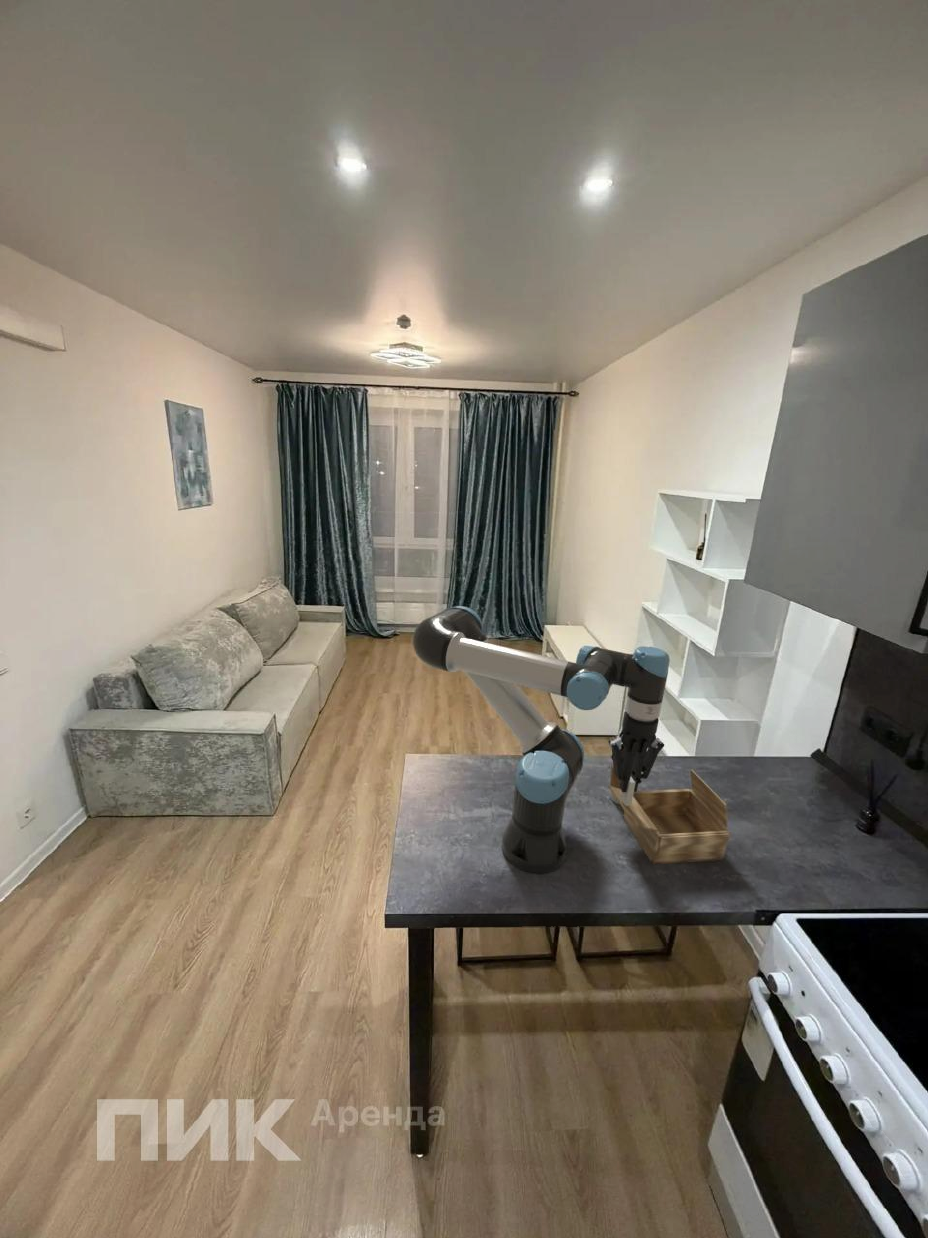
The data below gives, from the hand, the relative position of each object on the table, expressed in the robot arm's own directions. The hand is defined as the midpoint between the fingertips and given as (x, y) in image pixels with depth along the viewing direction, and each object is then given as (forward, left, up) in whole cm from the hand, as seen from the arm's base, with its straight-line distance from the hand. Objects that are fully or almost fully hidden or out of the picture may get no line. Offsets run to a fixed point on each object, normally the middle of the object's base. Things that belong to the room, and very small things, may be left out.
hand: (625, 802), depth 120 cm
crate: (+14, 0, -11) cm, 18 cm away
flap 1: (+5, 0, -3) cm, 6 cm away
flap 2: (+23, 0, -3) cm, 23 cm away
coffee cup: (+8, +16, -12) cm, 21 cm away
